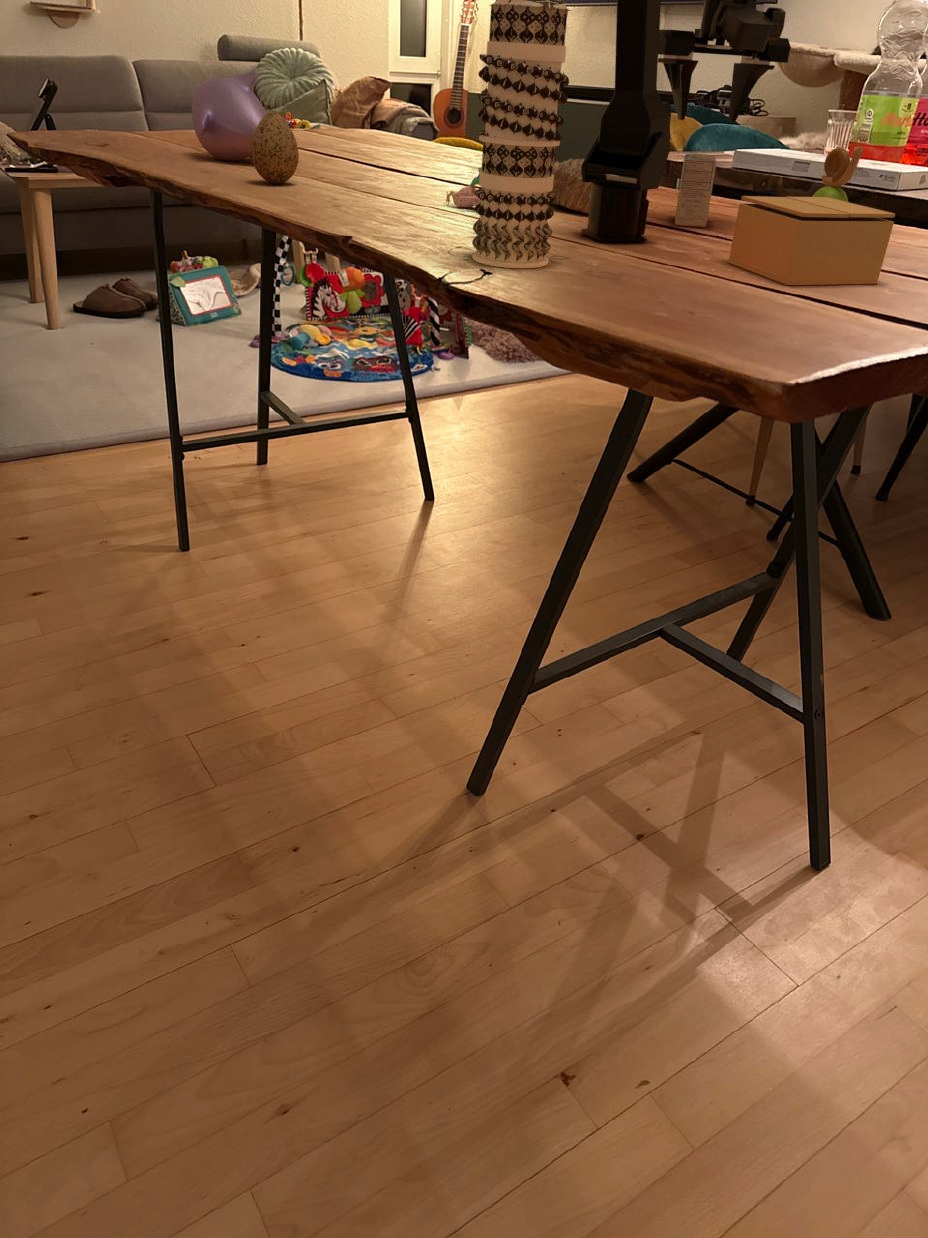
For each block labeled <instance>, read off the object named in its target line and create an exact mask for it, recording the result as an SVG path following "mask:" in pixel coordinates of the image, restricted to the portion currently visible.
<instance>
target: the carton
mask: <svg viewBox="0 0 928 1238" xmlns="http://www.w3.org/2000/svg"><path fill="white" fill-rule="evenodd" d="M785 197H786V198H790V199H794V200H798V201H802V202H805V203H809V204H813V205H817V206H821V207H825V208H829V209H833V210H837V211H840V212H844V213H848V214H849V218H831V217H801V216H798V215H794V214H791V213H787V212H783V211H780V210H776V209H773V208H769V207H766V206H762V205H758V204H755V203H739V205H738V209H737V215H736V221H735V225H734V231H733V235H732V242H731V246H730V251H729V255H728V264H731V265H733V266H736V267H739V268H741V269H744V270H747V271H749V272H752V273H754V274H757V275H759V276H762V277H765V278H768V279H769V280H772V281H775V282H777V283H780V284H782V285H785V286H816V285H817V286H819V285H821V286H823V285H877V284H878V282H879V279H880V275H881V271H882V267H883V263H884V260H885V256H886V254H887V249H888V245H889V242H890V239H891V236H892V231H893V227H894V224H895V221H893V220H888V218H889V219H890V218H891V219H893V218H895V217H896V213H894V212H890V211H887V210H882V209H878V208H874V207H870V206H866V205H862V204H858V203H857V204H856V203H853V202H849V201H848V202H845V201H841V200H837V199H833V198H828V197H812V196H785ZM884 218H885V219H884ZM886 218H887V219H886Z"/></svg>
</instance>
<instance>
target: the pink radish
mask: <svg viewBox="0 0 928 1238" xmlns="http://www.w3.org/2000/svg"><path fill="white" fill-rule="evenodd" d="M477 170H478V175H477V176H476V177H474V178H473V179H472V180H471V183H470V184H469V185H467V186H464V187H461V188H460V189H459V190H458V191H457V192H455V191H453V190H450V192H449V191H446V198H445V203H446V204H447V205H449V204H450V203H451V199H450V198H451V197H452V201H453V204H454V206H455V207H457V208H460V209H461V208H473V207H475V206H477V205H478V204H480V202H481V200H480V199H479V198H478V197H477V196H476V195H475V192H476V190H478V189H477V188H476V186H479V178H480V171H481V170H482V166H480V167H478V168H477Z"/></svg>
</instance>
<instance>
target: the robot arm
mask: <svg viewBox="0 0 928 1238" xmlns="http://www.w3.org/2000/svg"><path fill="white" fill-rule="evenodd" d="M699 2H703V8H702V15H701V20H700V27H699V28H694V31H693V30H680V29H661V27H660V26H661V11H662V0H616V21H615V23H616V25H615V27H616V28H615V58H614V59H615V62H614V63H615V64H614V93H613V96H612V97H611V99H610V101H609V103H608V104H607V106H606V108H605V110H604V112H603V114H602V115H601V118H600V123H599V132H598V136H597V137H596V139H595V141H594V142H593V145H592V146H591V148H590V149H589V151H588V153H587V154H586V156H585V158H584V159H585V160H584V162H583V163H582V166H581V170H582V182H585V183H589V182H590V183H592V191H591V200H590V208H589V214H588V218H587V227H586V228H581V230H580V233H581V234H583V235H584V236H587V237H589V238H592V239H594V240H596V241H599V242H602V243H603V242H604V243H634V242H635V243H638V242H639V243H642V242H643V243H645V242H647V241H648V237H647V236H644V235H645V234H646V226H647V221H648V212H649V205H650V200H649V199H648V191H650V190H657V189H659V187H660V184H661V180H662V178H663V174H664V171H665V168H666V165H667V161H668V157H669V155H670V150H671V138H672V135H671V120H672V112H673V109H672V106H671V103H670V102H669V101H663V100H662V98H661V96H660V94H659V91H658V89H657V86H658V85H657V84H658V67H659V66H658V65H659V64H658V63H660V64H662V65H663V67H664V70H665V73H666V76H667V79H668V82H669V85H670V89H671V94H672V97H673V98H672V99H673V102H674V106H675V107H674V108H675V111H676V115H677V116H676V117H677V119H678V120H679V121H684V120H685V119H686V115H687V110H688V106H689V100H690V99H689V98H690V90H691V83H692V76H693V73H694V71H695V69H696V68H697V65H698V64H699V60H696V59H695V60H694V59H693V58H694V57H693V56H694V54H707V55H722V56H723V55H724V56H735V57H737V56H738V57H740V62H734V63H733V69H732V77H731V78H732V79H731V89H730V97H729V107H728V122H730V123H735V122H736V121H737V119H738V118H739V116H740V114H741V112H742V110H743V108H744V106H745V104H746V102H747V100H748V98H749V96H750V94H751V92H752V91H753V89H754V87H755V85H757V82H758V81H759V80H760V79H761V77H762V76H764V75H765V74H766V73H767V72H768V71H770V70H771V71H773V70H775V67H776V65H775V64H774V65H773V64H771V63H782V64H783V63H785V64H788V63H789V62H790V58H791V57H790V56H791V53H792V46H791V43H790V39H789V38H788V37H781V36H782V34H783V31H784V27H785V22H786V14H787V12H786V11H785V10H784V9H783V8H781V7H772V6H770V7H767V9H766V10H765V11H761V10H758V9H757V4H758V0H699ZM714 41H715V43H714V44H709V42H714ZM726 43H728V45H725V44H726ZM659 55H660V56H662V55H663V57H659ZM606 174H610V175H618V176H619V177H618V176H610V175H606Z"/></svg>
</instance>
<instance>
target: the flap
mask: <svg viewBox="0 0 928 1238" xmlns="http://www.w3.org/2000/svg"><path fill="white" fill-rule="evenodd" d="M786 197H787V196H762V195H761V196H760V195H756V196H755V195H741V201H744V202H748V203H750V204H758V205H762V206H766V207H769V208H773V209H776V210H780V211H783V212H787V213H791V214H794V215H798V216H801V217H831V218H849V214H848V213H844V212H840V211H837V210H833V209H829V208H825V207H821V206H817V205H813V204H809V203H805V202H802V201H798V200H794V199H790V198H786Z"/></svg>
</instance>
